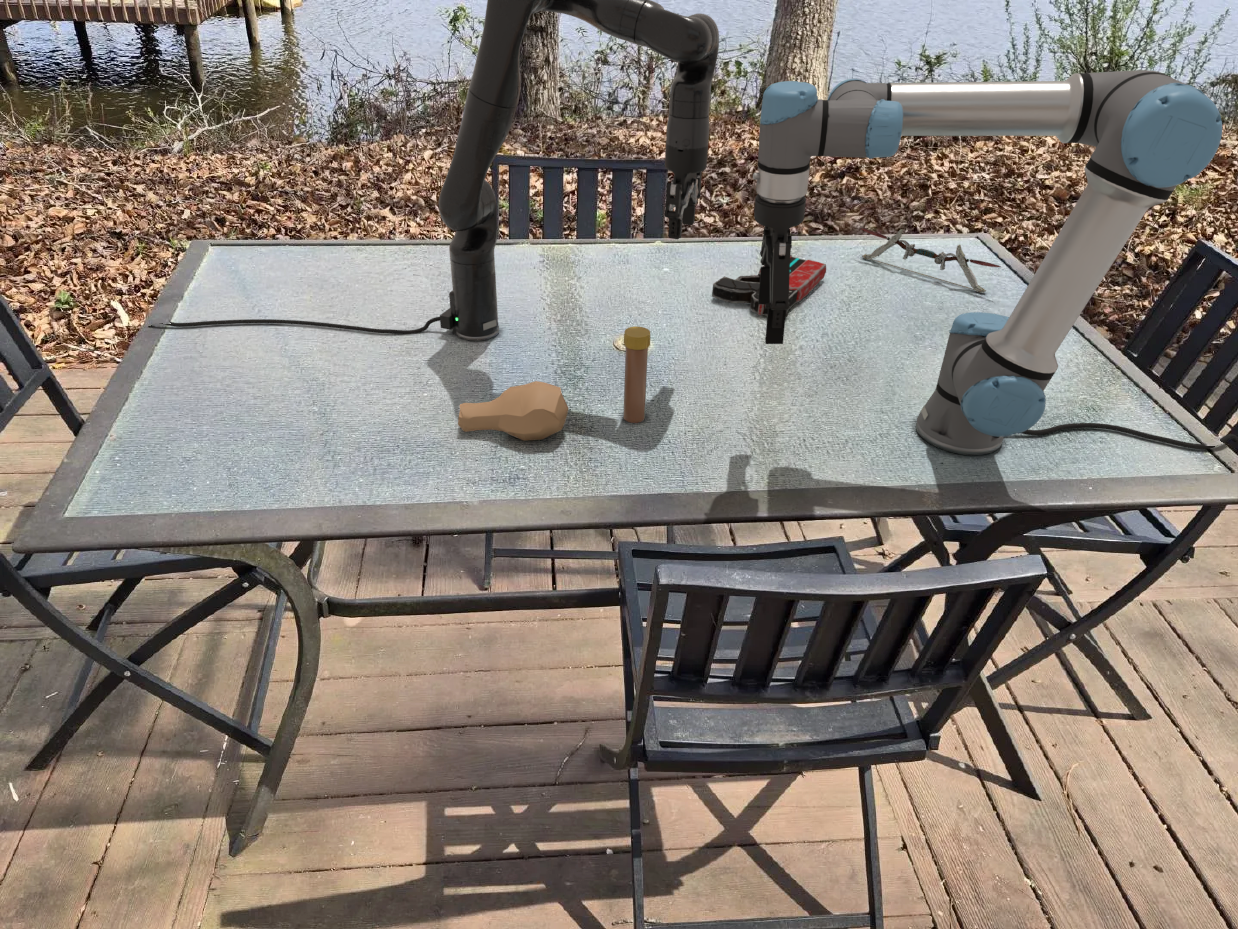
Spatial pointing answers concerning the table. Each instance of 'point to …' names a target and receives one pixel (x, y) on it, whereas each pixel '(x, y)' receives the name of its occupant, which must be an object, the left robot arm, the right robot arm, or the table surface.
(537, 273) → the table surface
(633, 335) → the lid
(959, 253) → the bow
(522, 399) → the squash
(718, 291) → the gun
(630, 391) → the jar
